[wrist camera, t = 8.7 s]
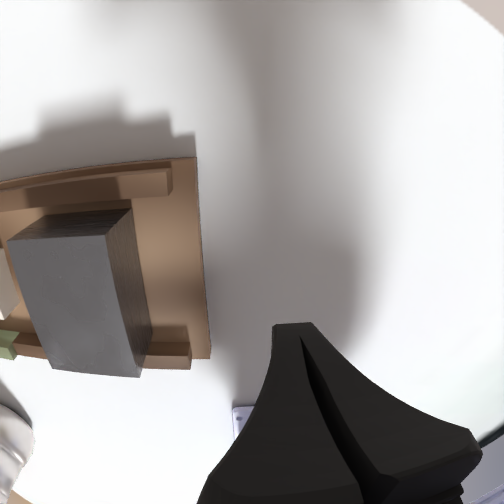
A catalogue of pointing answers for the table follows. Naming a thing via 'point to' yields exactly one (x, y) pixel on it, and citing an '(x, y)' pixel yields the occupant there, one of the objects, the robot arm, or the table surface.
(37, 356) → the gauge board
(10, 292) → the cream square block
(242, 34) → the table surface
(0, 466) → the plastic bottle
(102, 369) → the grey rectangular block
